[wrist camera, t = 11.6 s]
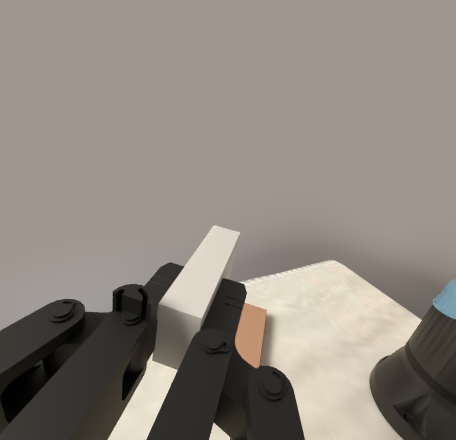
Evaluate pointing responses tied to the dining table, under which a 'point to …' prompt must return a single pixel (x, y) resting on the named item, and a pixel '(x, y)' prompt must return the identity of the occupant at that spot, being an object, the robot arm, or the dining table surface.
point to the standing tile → (250, 334)
